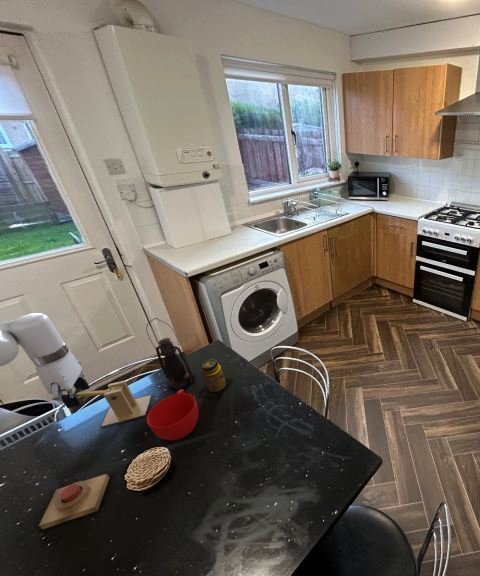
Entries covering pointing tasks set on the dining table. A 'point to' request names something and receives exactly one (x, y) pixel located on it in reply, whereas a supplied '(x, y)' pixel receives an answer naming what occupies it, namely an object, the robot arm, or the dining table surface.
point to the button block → (75, 502)
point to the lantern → (173, 363)
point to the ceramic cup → (174, 416)
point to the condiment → (213, 375)
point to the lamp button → (70, 493)
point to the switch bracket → (124, 404)
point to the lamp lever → (93, 393)
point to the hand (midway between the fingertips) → (79, 397)
